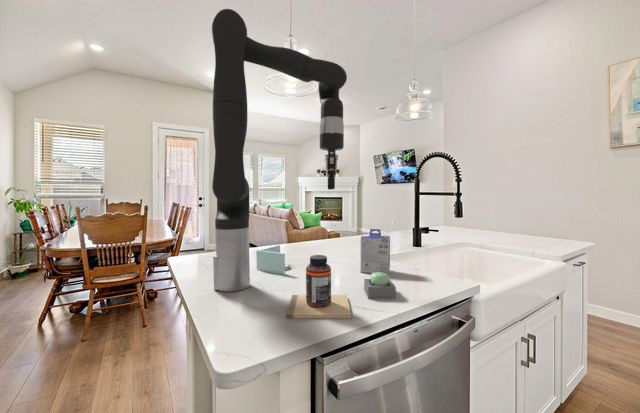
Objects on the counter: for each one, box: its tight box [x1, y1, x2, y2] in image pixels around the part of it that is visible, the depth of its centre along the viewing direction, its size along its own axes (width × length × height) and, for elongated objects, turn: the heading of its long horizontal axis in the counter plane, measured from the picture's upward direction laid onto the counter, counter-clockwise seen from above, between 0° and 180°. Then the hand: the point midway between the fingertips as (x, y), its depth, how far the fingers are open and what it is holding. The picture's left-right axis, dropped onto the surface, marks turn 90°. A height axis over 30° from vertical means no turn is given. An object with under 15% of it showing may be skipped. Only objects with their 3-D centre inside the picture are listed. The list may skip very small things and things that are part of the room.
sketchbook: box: [286, 294, 352, 319], centre depth 68 cm, size 14×12×1 cm
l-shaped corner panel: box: [255, 244, 291, 275], centre depth 104 cm, size 12×12×8 cm
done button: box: [370, 272, 389, 286], centre depth 77 cm, size 4×4×4 cm
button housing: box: [363, 278, 397, 300], centre depth 77 cm, size 7×7×3 cm
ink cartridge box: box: [360, 228, 391, 275], centre depth 99 cm, size 10×6×14 cm, turn 78°
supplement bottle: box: [305, 254, 332, 307], centre depth 68 cm, size 6×6×11 cm
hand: (331, 189), depth 91 cm, fingers closed
